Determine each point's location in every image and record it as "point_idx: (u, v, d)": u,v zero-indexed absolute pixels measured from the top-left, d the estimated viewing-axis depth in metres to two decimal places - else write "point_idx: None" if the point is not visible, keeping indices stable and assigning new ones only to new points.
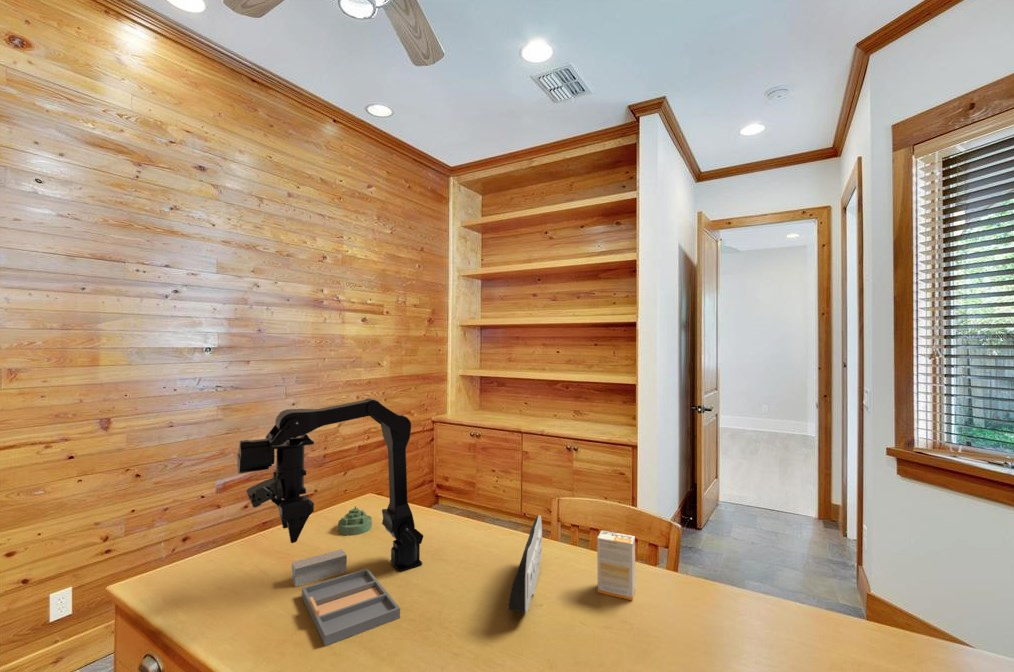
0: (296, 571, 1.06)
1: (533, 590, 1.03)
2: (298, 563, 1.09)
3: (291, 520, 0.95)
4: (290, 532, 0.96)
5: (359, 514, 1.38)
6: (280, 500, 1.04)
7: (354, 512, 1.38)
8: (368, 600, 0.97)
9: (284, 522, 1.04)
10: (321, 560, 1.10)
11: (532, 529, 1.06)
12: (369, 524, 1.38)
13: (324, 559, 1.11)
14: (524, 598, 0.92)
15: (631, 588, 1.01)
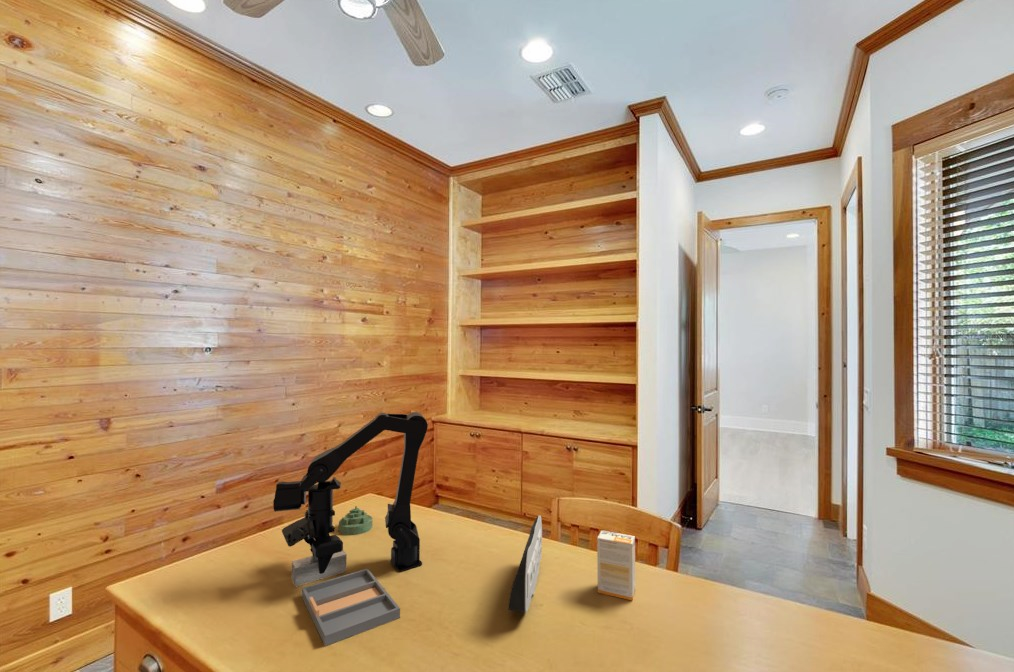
0: (296, 570, 1.06)
1: (533, 590, 1.03)
2: (297, 562, 1.09)
3: None
4: (319, 564, 1.08)
5: (360, 514, 1.39)
6: (312, 540, 1.13)
7: (355, 512, 1.38)
8: (368, 600, 0.97)
9: None
10: None
11: (532, 529, 1.06)
12: (370, 524, 1.38)
13: None
14: (524, 598, 0.92)
15: (631, 588, 1.01)
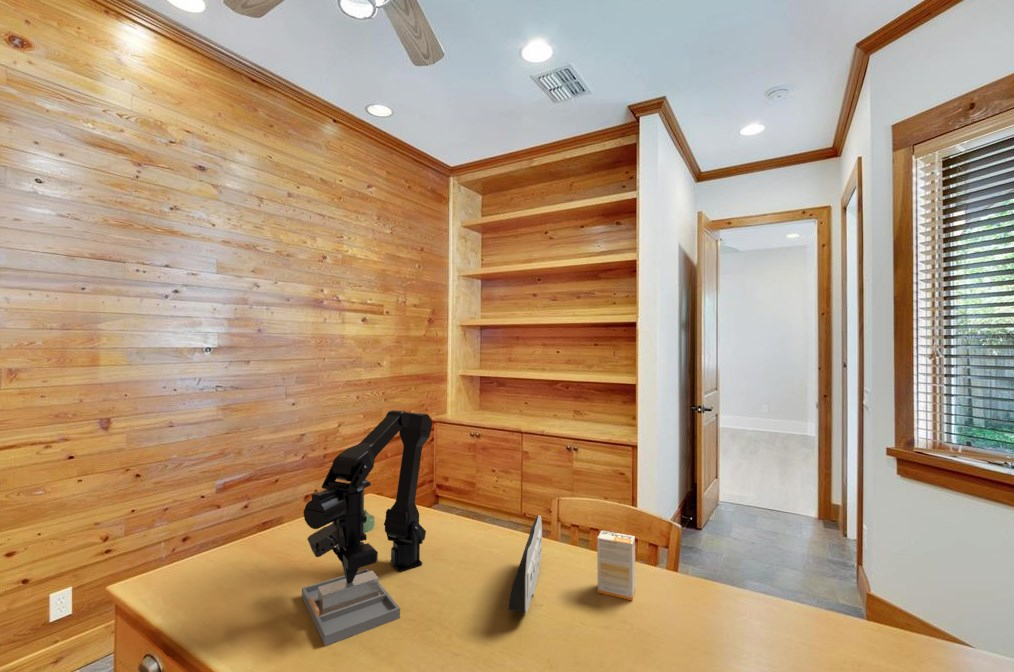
0: (323, 598, 0.93)
1: (533, 590, 1.03)
2: (324, 588, 0.96)
3: None
4: (347, 573, 0.97)
5: None
6: (343, 552, 0.98)
7: None
8: (368, 600, 0.97)
9: None
10: (350, 584, 0.97)
11: (532, 529, 1.06)
12: (372, 523, 1.39)
13: (354, 583, 0.98)
14: (524, 598, 0.92)
15: (631, 588, 1.01)
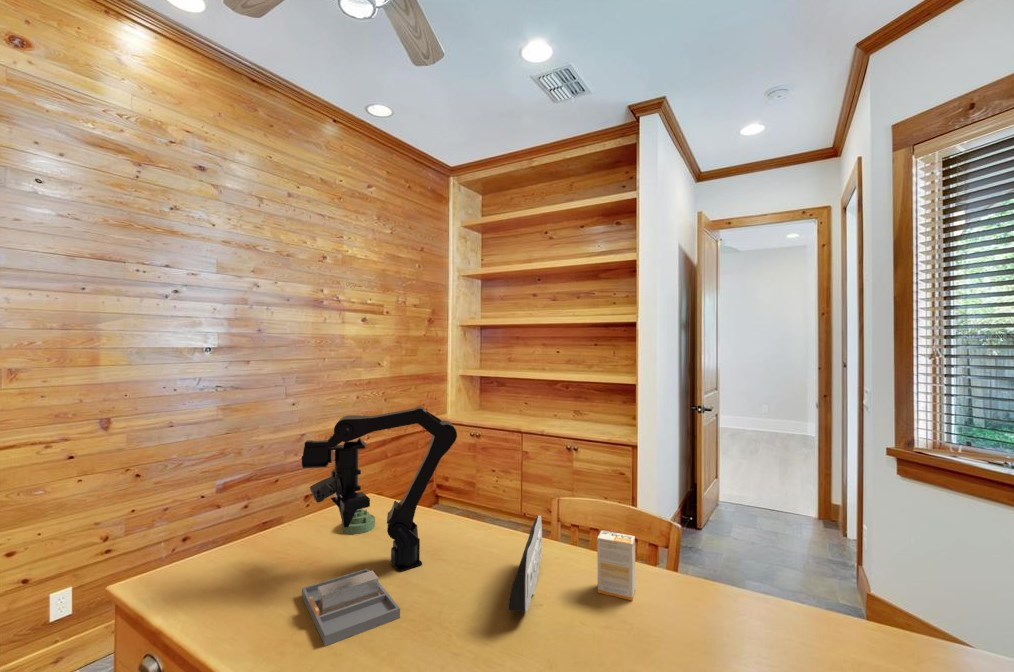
0: (323, 598, 0.93)
1: (533, 590, 1.03)
2: (324, 588, 0.96)
3: None
4: (344, 518, 1.13)
5: (362, 513, 1.39)
6: None
7: (357, 511, 1.39)
8: (368, 600, 0.97)
9: None
10: (350, 584, 0.97)
11: (532, 529, 1.06)
12: (372, 523, 1.39)
13: (354, 583, 0.98)
14: (524, 598, 0.92)
15: (631, 588, 1.01)
